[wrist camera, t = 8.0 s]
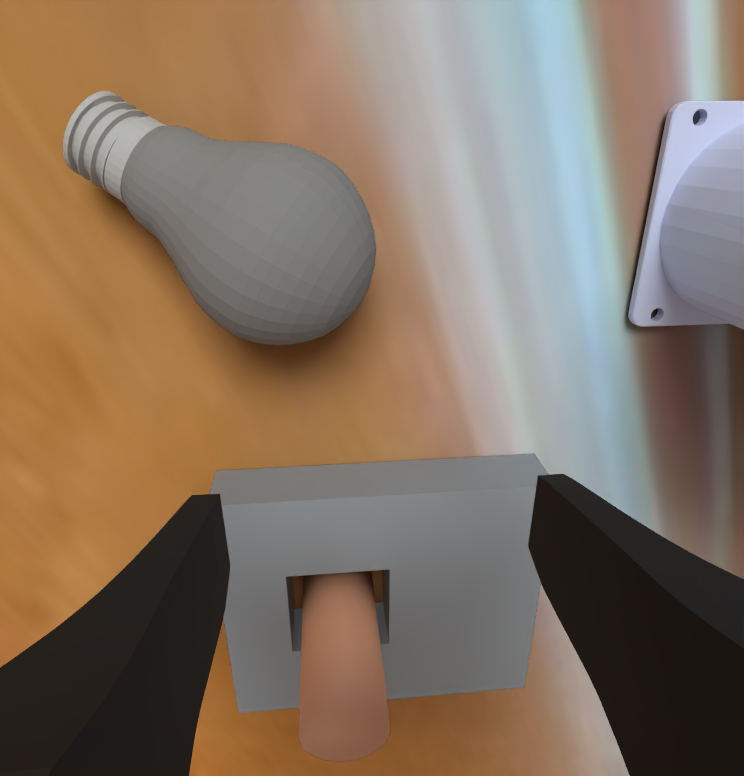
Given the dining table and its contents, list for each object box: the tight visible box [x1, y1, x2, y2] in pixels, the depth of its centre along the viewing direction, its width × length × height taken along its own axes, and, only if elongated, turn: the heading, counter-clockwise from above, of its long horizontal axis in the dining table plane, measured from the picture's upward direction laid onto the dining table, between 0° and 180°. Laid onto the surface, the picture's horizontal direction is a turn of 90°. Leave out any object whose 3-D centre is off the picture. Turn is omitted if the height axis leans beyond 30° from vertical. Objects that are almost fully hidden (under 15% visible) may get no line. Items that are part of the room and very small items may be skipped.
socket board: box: [209, 454, 549, 713], centre depth 25 cm, size 14×12×2 cm
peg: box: [299, 571, 391, 762], centre depth 23 cm, size 3×3×8 cm
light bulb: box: [63, 91, 376, 345], centre depth 17 cm, size 6×6×10 cm
